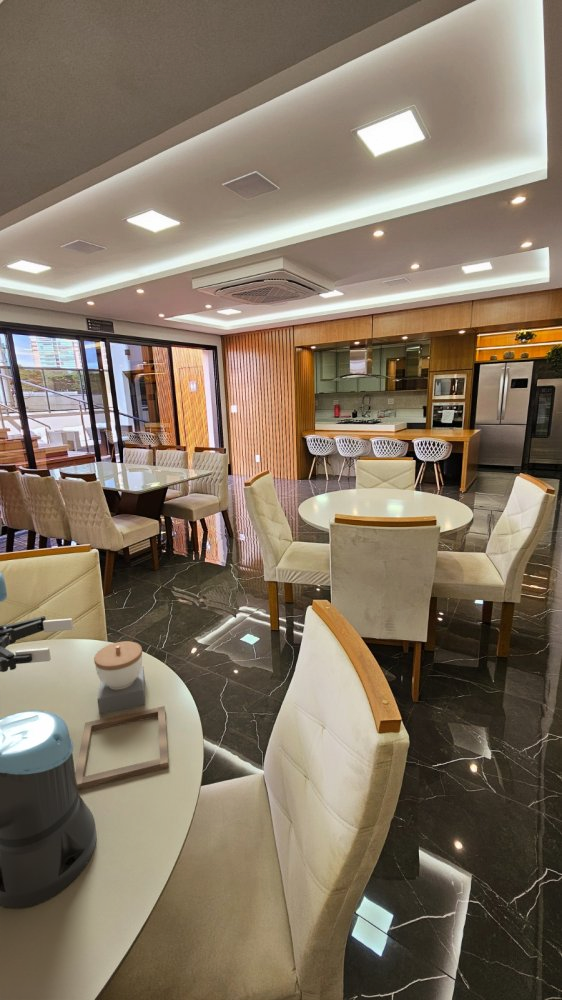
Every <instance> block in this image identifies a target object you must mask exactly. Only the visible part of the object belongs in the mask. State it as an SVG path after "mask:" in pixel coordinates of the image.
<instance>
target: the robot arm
mask: <svg viewBox="0 0 562 1000" xmlns="http://www.w3.org/2000/svg"><path fill="white" fill-rule="evenodd" d="M2 521H3V520H2V517H1V514H0V536H1V535H2V530H3V529H2V528H3V527H2V526H3V524H2V523H3V522H2ZM7 597H8V593H7V586H6V582H5V577H4V574H3V573H2V571H1V572H0V603H1V602H4V601H6V599H7ZM73 630H74V623H73V618H71V617H70V618H60V619H59V618H58V619H49V620H48V619H46V616H45V615H43V616H42V615H41V616H39V617H34V618H30V619H26V620H23V621H18V622H14V623H9V624H1V625H0V672H1V673H5V672H7V671H9V670H10V671H14V670H16V669H17V665H20V664H32V663H42V662H51V660H52V658H51V651H50V647H42V648H31V649H19V650H16V651H15V653H13V652H12V651H11V650H9V649H7V647H8V646H9V645H12V644H15V643H16V641H19V640H21V639H23V638H26V637H29V636H32V635H35V634H38V633H41V632H44V633H51V632H64V631H73ZM73 744H74V743H73V741H72V738H71V737H70V732H69V729H68V725H67V723H66V721H65V720H64V718H62V717H61V716H60V715H58V714H56V713H54V712H51V711H44V710H25V711H20V712H16V713H13V714H9V715H6V716H4V717H1V718H0V906H2V907H4V908H9V909H22V908H29V907H33V906H36V905H39V904H41V903H43V902H46V901H48V900H50V899H51V898H53V897H55V896H56V895H58V894H60V893H61V892H62V891H64V890H65V889H66V888H67V887H68V886H70V885H71V884H72V883H73V882H74V881H75V880H76V878H78V876H79V875H80V874H81V873H82V871H83V870H84V869H85V868H86V866H87V865H88V863H89V862H90V860H91V857H92V855H93V853H94V851H95V848H96V845H97V844H96V843H97V827H96V822H95V817H94V815H93V812H92V811H91V809H90V808H89V807H88V805H87V804H86V802H85V800H83V798H82V797H81V796H80V794H79V790H78V788H77V781H76V775H75V772H76V767H75V762H74V757H73V756H74V755H73V751H74V749H73V748H74V746H73Z"/></svg>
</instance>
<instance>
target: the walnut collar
mask: <svg viewBox="0 0 562 1000" xmlns="http://www.w3.org/2000/svg"><path fill="white" fill-rule="evenodd" d="M151 718H157V719H158V745H159V757H158V758H155V759H152V760H148V761H143V762H138V763H133V764H130V765H126V766H121V767H117V768H113V769H111V770H105V771H101V772H97V773H94V774H89V775H86V771H87V770H86V769H87V763H88V757H89V751H90V745H91V740H92V739H91V738H92V732H93V731H96V730H100V729H105V728H110V727H115V726H120V725H123V724H124V725H125V724H129V723H133V722H138V721H142V720H148V719H151ZM81 735H82V737H81V741H80V746H79V747H80V748H79V752H78V756H77V757H78V758H77V762H76V765H75V766H76V767H75V775H76V781H77V788H78V791H79V790H82V789H86V788H87V789H88V788H90V787H95V786H99V785H102V784H107V783H110V782H115V781H118V780H122V779H127V778H132V777H135V776H140V775H144V774H147V773H151V772H155V771H160V770H162V769H163V770H164V769H166V768H167V769H168V768H169V754H168V752H169V751H168V737H167V722H166V706H165V705H162V706H157V707H153V708H148V709H143V710H140V711H138V710H137V711H135V712H134V711H133V712H130V713H126V714H125V713H124V714H120V715H114V716H111V717H106V718H100V719H97V720H96V719H95V720H91V721H86V722H84V725H83V730H82V734H81Z"/></svg>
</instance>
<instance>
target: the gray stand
mask: <svg viewBox="0 0 562 1000" xmlns="http://www.w3.org/2000/svg"><path fill="white" fill-rule="evenodd" d="M144 668H145V667H144V666H143V665H142V668H141V671H140V674H139V675H138V677H137V678H136V679H135V681H134V683H133V684H132V685H130V686H129V687H127V688H124V689H119V690H114V689H111V688H109V687H108V686H106V685H105V684H103V683H102V682H101V680H99V681H100V682H99V688H98V693H97V706H98V708H97V709H98V714H99V715H102V714H107V713H112V712H117V711H122V710H126V709H127V710H128V709H132V708H136V707H142V706H145V705H146V686H145V685H146V678H145V677H146V676H145V669H144Z"/></svg>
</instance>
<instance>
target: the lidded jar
mask: <svg viewBox="0 0 562 1000" xmlns="http://www.w3.org/2000/svg"><path fill="white" fill-rule="evenodd" d="M93 661H94V666H95V670H96V674H97V676H98V679H99V681H101V682H102V683H103V684H105V685H106V686H108V687H109V688H111V689H114V690H119V689H124V688H127V687H129V686H130V685H132V684H133V683H134V681H135V679H136V678H137V677H138V675H139V674H140V671H141V668H142V666H143V648H142V645H140V644H139V643H138V642H134V641H129V640H127V641H126V640H125V641H118V642H114V643H110V644H108V645H106V646H103V647H102V648H100V650H98V651H97V652H96V654H94V658H93Z"/></svg>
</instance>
